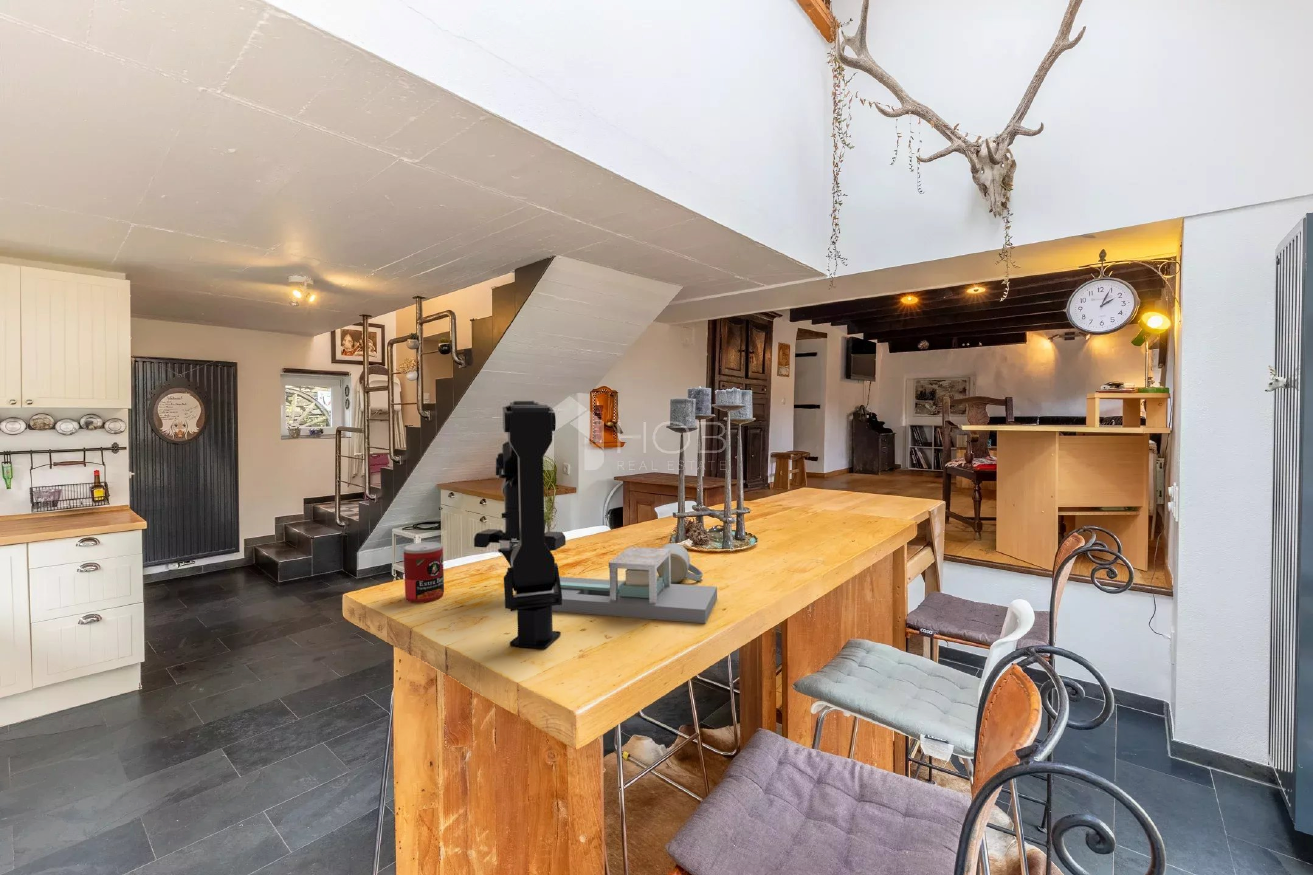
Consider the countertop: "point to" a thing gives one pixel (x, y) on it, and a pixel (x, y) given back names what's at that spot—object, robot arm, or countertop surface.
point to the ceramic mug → (679, 565)
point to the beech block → (637, 577)
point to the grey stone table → (641, 568)
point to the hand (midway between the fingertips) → (520, 579)
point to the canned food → (423, 571)
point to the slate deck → (638, 602)
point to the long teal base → (622, 589)
